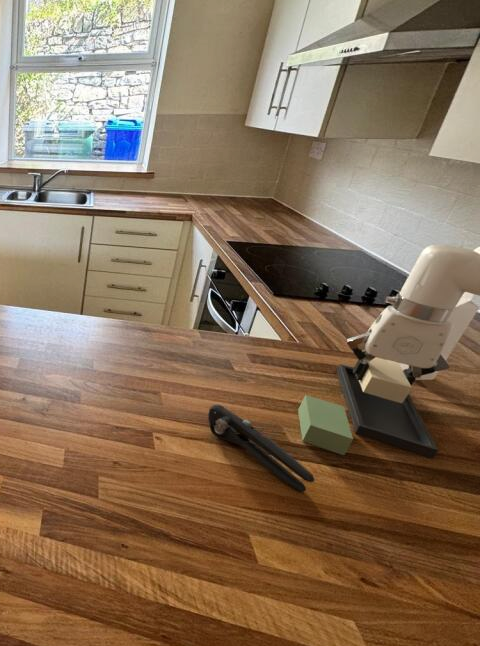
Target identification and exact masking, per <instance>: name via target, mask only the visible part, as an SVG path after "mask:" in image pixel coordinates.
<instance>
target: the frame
mask: <svg viewBox="0 0 480 646" xmlns="http://www.w3.org/2000/svg"><path fill="white" fill-rule="evenodd" d="M353 369H354V367H353V366H349V365H345V364H341V363H340V364H339V365H338V367H337V369H336V374H337V377H338V381H339V383H340V386H341V391H342V394H343V397H344V401H345V405H346V407H347V410H348V411H347V412H348V415H349V417H350V420H351V425H352V427H353V430H354V433H355V434H356V435H359V436H362V437H366V438H368V439H371V440H374V441H378V442H381V443H384V444H386V445H390V446H393V447H396V448H399V449H403V450H405V451H409V452H412V453H414V454H418V455H421V456H424V457H427V458H430V459H434V458H435V456H436V455H437V453H438V452H439V448H438V446H437V445H436V443H435V442H434V438H433V437H432V435H431V433H430V432H429V430H428V427H427V426H426V424H425V422H424V420H423V418H422V417H421V414H420V412H419V411H418V408H417V407H416V405H415V403H414V401H413V399H412V397H411V395H410V394H409V393H410V392H409V393H408V395H407V397H406V398H405V400H404V401H403V403H399V402H395V401H392V400H388V399H385V398H382V397H378V396H375V395H371V394H368V393H364V392H363V390H362V388H361V385H360V382H359V380H357V379H356V376H355V373H353Z"/></svg>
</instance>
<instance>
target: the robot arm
mask: <svg viewBox="0 0 480 646" xmlns="http://www.w3.org/2000/svg"><path fill="white" fill-rule="evenodd" d="M464 292H468V293H472V294H475V296H479V297H480V245H479V246H478V247H476V248H475V249H473V250H472V249H469V248H465V247H461V246H456V245H448V244H431V245H428V246H426V247H425V248H424V249H422V251H421V253H420V254H419V256H418V258H417V260H416V262H415V264H414V266H413V267H412V269H411V271H410V273H409V274H408V276H407V278H406V280H405V281H404V284H403V285H402V288H401V290H400V291H399V292H397V294H396V295H395V296H390V295H389V296H388V295H387V296H386V297H385V300H384V302H385V303H387V304H390V305H388V306H386V308H384V310H383V311H382V312H381V313H380V314H379V315H378V316H377V318H376V319H375V320H374V321H373V323H372V324H371V326H370V327H369V329H368V330H367V331H366V332H364V333H362V334H358V335H355V336H353V337H349V338H347V339H346V340H345V342H346V344H347V347H349V349H350V350H351V351H352V352H353V354H354V355H355V357H356V358H357V361H356V363H355V365H354V367H353V368H354V369H353V373H355V376H356V379H357V380H362V378H363V377H364V375H365V373H366V371H367V369H368V368H369V364H368V363H369V362H370V361H371V360H373V359H374V358H375V357H377V358H381V359H385V360H390V361H394V362H398V363H402V364H406V365H409V368H408V369H405V370H403V372H404V374H405V376H406V378H407V380H408V381H409V383H410V385H411V386H413V384H414V382H415V381H416V380H415V379H416V378H420V377H421V376H422V375H426V374H430V373H434V372H435V371H439V372H441V371H445V370H448V369H450V367H451V366H450V365H449V363H448V362H447V360H446V361H445V359H444V358H443V357H442V355H441V352H442V350H443V348H444V346H445V344H446V341H447V339H448V336H449V333H450V330H451V326H452V323H451V322H449V321H448V320H447V319H448V318H449V316H450V315H451V313H452V311H453V310H454V308H455V307H456V305H457V303H458V302H459V300H460V299H461V297H462V295H463V294H464ZM360 344H363V345H364V349H363V350H362V348H360V346H359V345H360Z"/></svg>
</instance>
